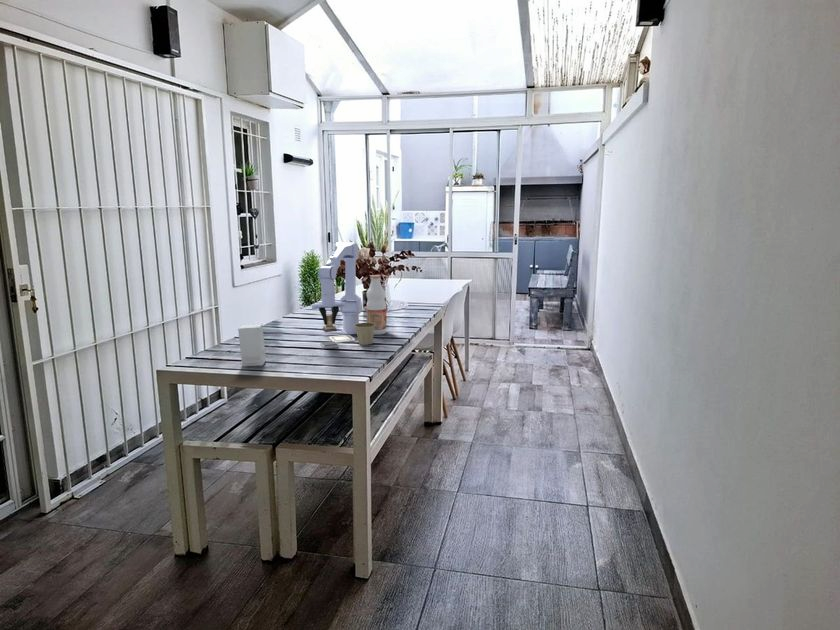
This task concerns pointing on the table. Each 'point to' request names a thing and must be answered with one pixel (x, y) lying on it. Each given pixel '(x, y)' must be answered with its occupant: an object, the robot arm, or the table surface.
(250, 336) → the skincare box
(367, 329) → the flower pot
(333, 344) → the ink pad
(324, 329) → the stamp
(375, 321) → the fruit juice
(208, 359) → the table surface
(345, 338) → the print card
